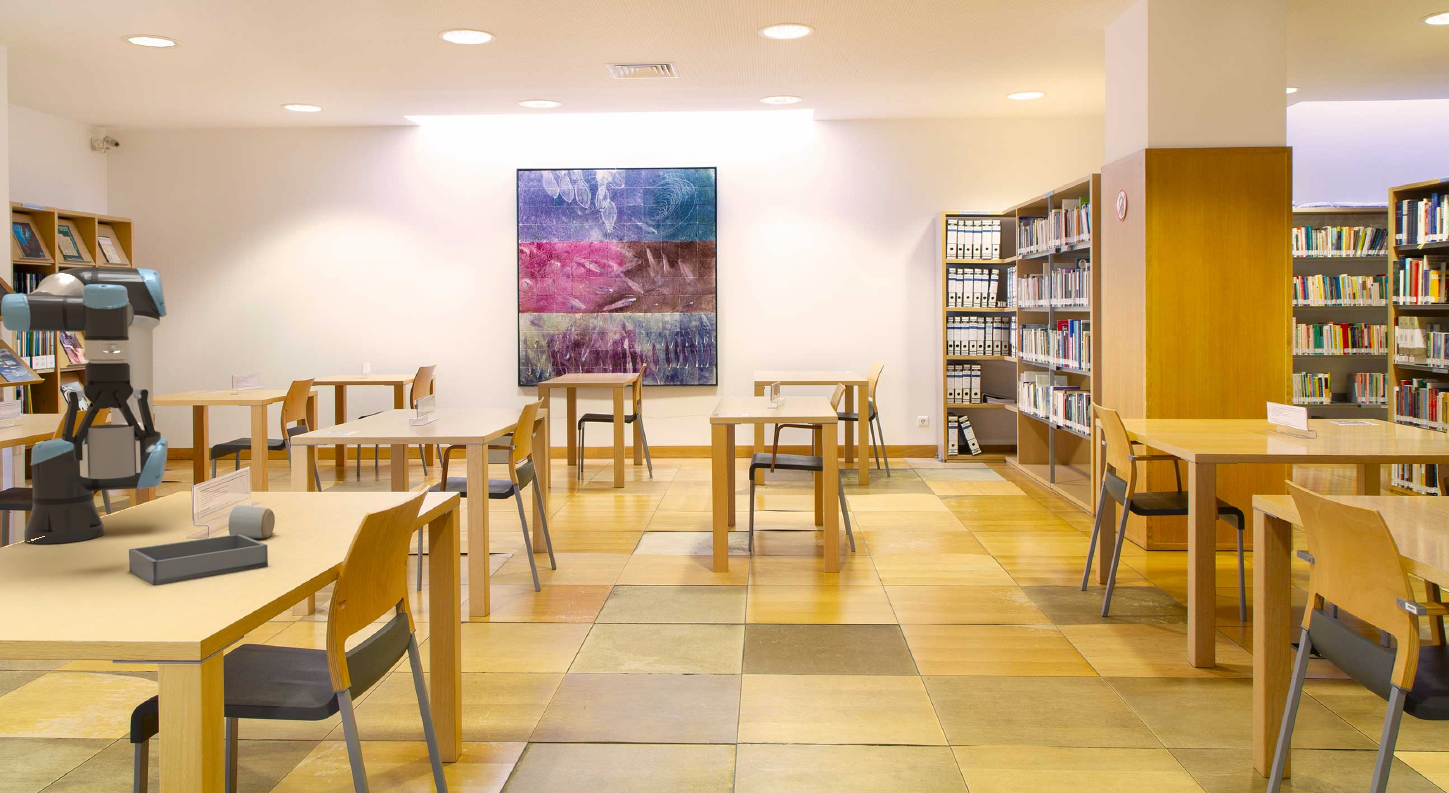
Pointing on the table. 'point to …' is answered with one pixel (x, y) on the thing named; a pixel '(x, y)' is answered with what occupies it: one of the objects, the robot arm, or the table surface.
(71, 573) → the table surface
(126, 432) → the cup
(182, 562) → the slate bin
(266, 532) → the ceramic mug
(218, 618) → the table surface
